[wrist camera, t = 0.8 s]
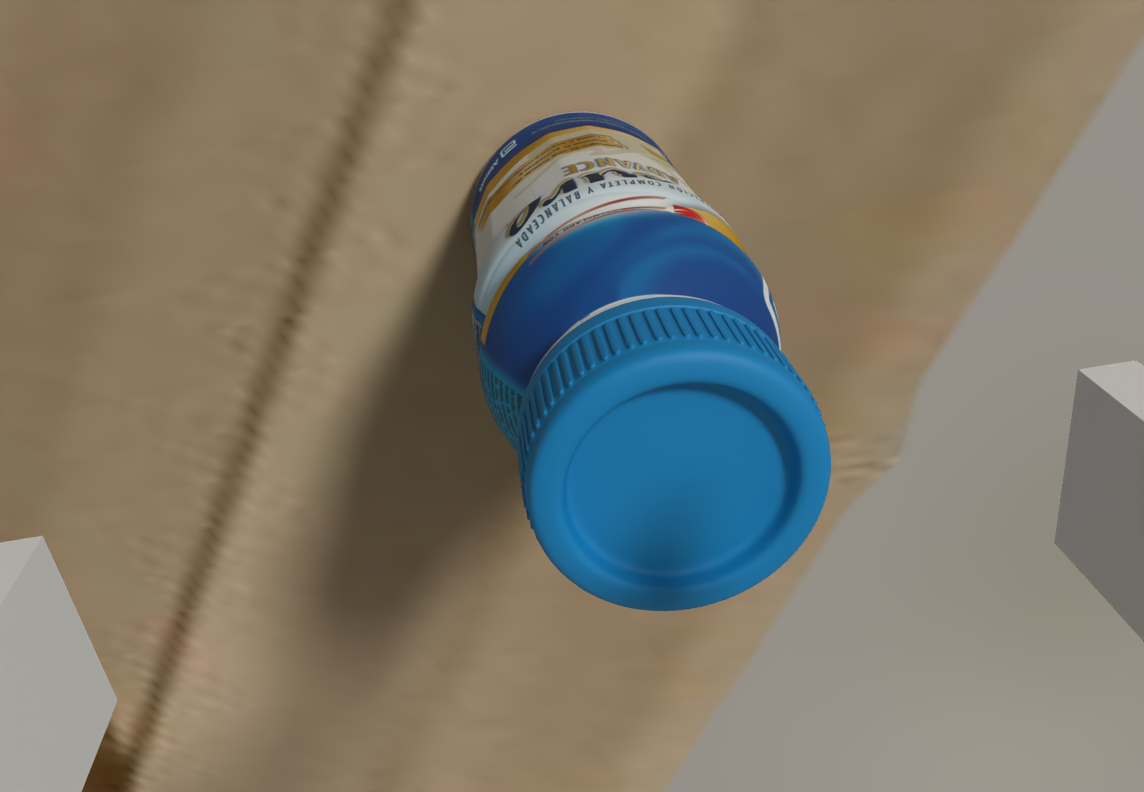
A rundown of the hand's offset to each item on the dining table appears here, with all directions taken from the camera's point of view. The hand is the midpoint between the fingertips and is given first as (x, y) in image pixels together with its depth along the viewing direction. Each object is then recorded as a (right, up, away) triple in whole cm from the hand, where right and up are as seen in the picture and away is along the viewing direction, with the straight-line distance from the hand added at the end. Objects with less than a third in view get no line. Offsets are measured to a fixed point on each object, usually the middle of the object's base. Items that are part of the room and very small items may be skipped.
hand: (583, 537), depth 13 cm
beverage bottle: (0, +9, +26) cm, 27 cm away
